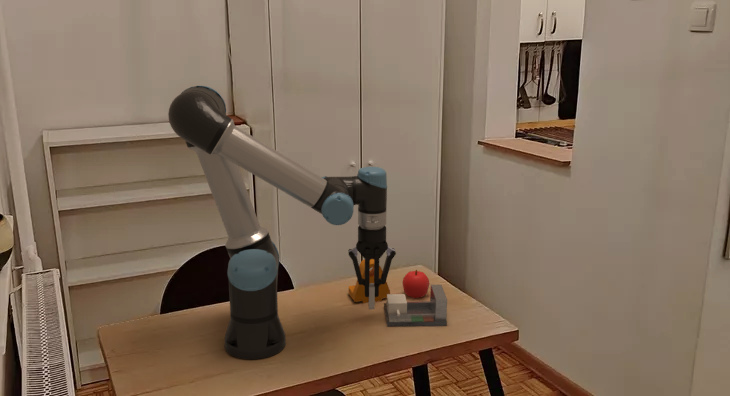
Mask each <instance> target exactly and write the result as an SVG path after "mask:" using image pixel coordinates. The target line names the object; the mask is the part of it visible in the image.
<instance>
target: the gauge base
mask: <svg viewBox="0 0 730 396" xmlns="http://www.w3.org/2000/svg"><path fill="white" fill-rule="evenodd" d="M429 293H430V296H429V301H426V300H425V301H420V300H419V301H407V314H400V316H397V314H389V317H388V312H387V301H386V302H384V303H383V309H384V316H385V321H386V326H387V327H388V328H389V327H446V326H447V325H448V321H447V314H448V298H447V295H446V293H445V290H444V288H443V284H430V291H429Z"/></svg>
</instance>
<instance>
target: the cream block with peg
mask: <svg viewBox="0 0 730 396" xmlns="http://www.w3.org/2000/svg"><path fill="white" fill-rule="evenodd" d="M386 302H387V312H388V317H389V314H397V316H400V314H407V302H408V301H407V297H406V293H394V294H393V293H390V294H387V298H386Z"/></svg>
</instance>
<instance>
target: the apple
mask: <svg viewBox="0 0 730 396" xmlns="http://www.w3.org/2000/svg"><path fill="white" fill-rule="evenodd" d="M402 287H403V292H404V294H405V295H407V296H408V297H410V298H412V299H420V298H423V297H424V296H426V294H428V290H429V287H430V279H429V278H428V276H427V275H426V274H425V272H423V271H420V270H418V269H416V270H412V271H411V270H410V271H408V272H407V273H406V274H405V276H404V277H403V279H402Z"/></svg>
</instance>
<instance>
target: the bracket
mask: <svg viewBox="0 0 730 396" xmlns="http://www.w3.org/2000/svg"><path fill="white" fill-rule="evenodd" d="M359 268H360V271H361V275H362V278H363V279H365V258H363V259H362V260H361V262H360V263H359ZM382 272H383V268H382V267H381V265H379V279H380V278H381V275H382ZM369 283H374V259H370V278H369ZM387 294H391V290H390V287H389V285H388V282H387V281H386V283H385V284H381V285H380V286H379V296H378V297H375V303H376V302H382V300H383V299H387ZM348 295H349V296H350V298H351V299H352V300H353V302H355V303H357V302H362V303H363V304H367V303H368V304H369V297H365V286H364V285H359V283H358V280H357V281H356V283H355V284H354V285H349V286H348Z"/></svg>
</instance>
